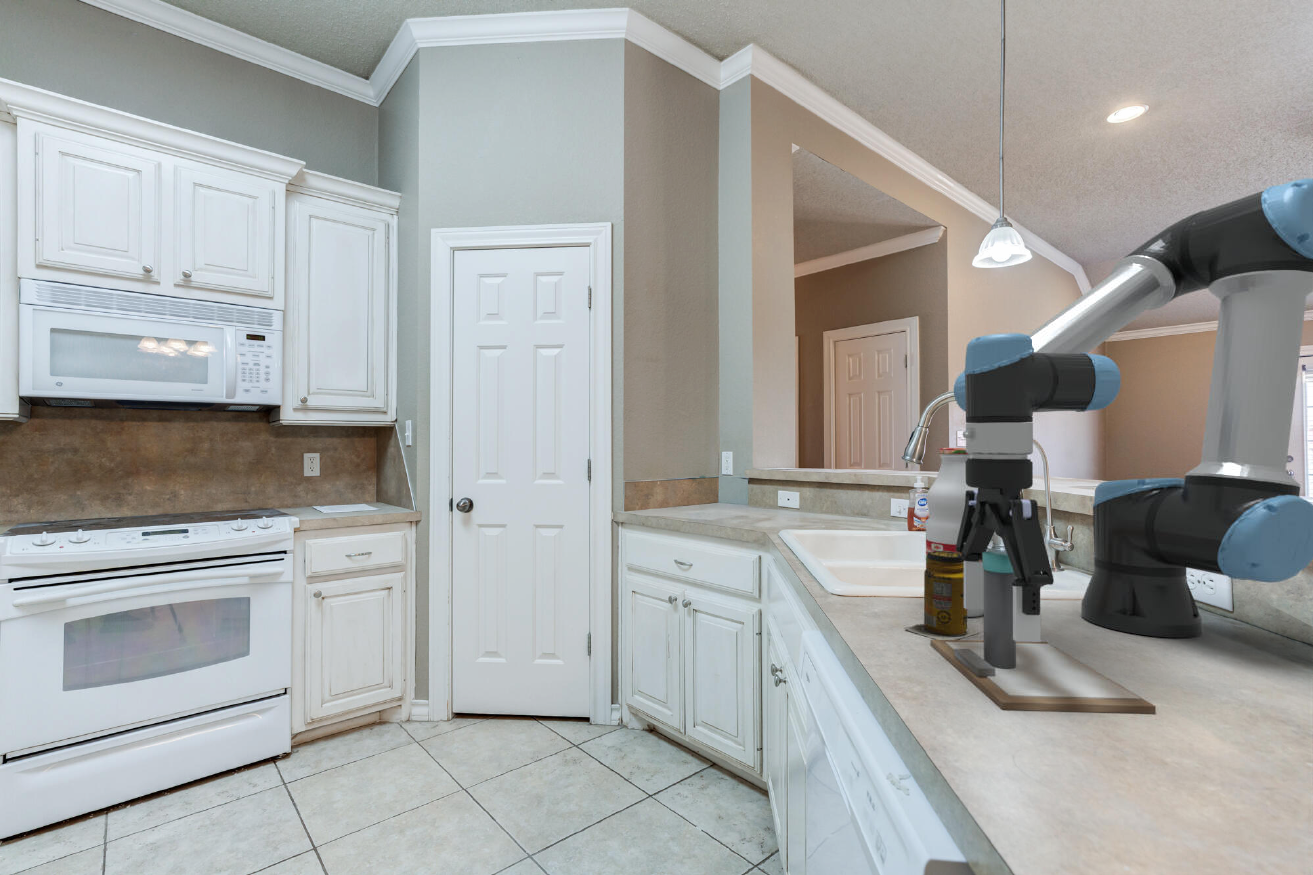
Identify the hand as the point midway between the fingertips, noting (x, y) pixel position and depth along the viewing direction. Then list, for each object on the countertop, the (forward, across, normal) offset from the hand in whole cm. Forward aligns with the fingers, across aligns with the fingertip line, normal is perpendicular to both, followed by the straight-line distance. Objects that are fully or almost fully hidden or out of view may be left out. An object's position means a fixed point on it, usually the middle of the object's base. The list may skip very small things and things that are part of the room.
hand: (998, 623), depth 79 cm
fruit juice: (+6, -28, +6) cm, 29 cm away
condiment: (+6, -16, -1) cm, 17 cm away
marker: (+5, 0, 0) cm, 5 cm away
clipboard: (+6, +1, +3) cm, 7 cm away
